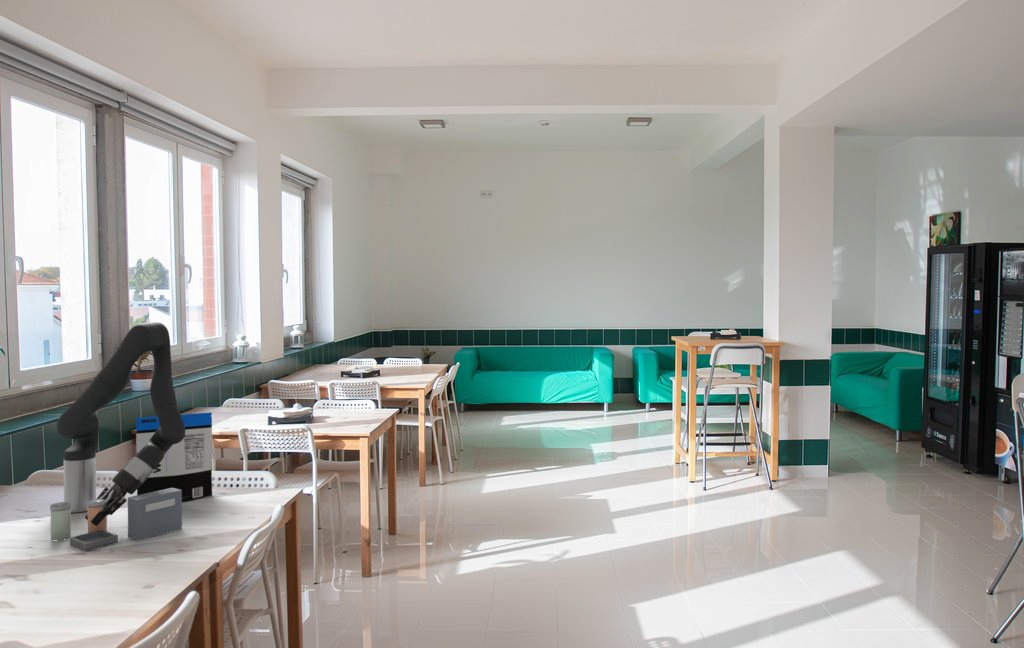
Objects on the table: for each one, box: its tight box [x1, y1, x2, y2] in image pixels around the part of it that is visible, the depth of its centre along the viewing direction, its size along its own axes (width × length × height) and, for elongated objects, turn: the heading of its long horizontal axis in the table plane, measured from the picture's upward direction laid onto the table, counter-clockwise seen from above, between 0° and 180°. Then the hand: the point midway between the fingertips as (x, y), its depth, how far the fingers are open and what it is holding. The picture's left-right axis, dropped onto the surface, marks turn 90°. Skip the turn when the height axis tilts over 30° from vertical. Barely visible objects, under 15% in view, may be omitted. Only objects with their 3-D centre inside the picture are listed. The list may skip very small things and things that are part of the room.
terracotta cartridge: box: [87, 498, 108, 533], centre depth 219 cm, size 5×5×10 cm
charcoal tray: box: [69, 530, 119, 552], centre depth 211 cm, size 9×9×2 cm
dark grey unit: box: [127, 488, 183, 542], centre depth 221 cm, size 6×14×12 cm, turn 146°
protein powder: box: [135, 412, 213, 503], centre depth 257 cm, size 10×24×30 cm, turn 123°
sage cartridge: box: [49, 501, 72, 541], centre depth 215 cm, size 5×5×10 cm
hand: (90, 521), depth 218 cm, fingers closed on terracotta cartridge, 5 cm apart
